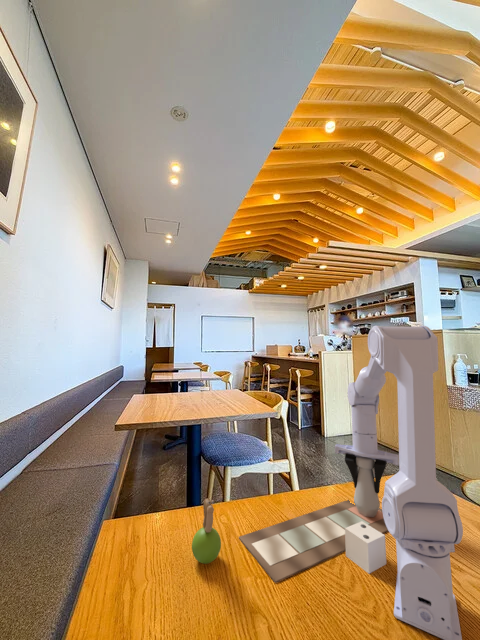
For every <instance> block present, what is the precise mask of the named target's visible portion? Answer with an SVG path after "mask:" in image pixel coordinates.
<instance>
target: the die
mask: <svg viewBox="0 0 480 640" xmlns="http://www.w3.org/2000/svg"><path fill="white" fill-rule="evenodd" d="M345 544H346V551H345V557H346V558H348V559H349V560H350V561H352V562H353V563H354V564H356V565H357V566H358V567H359V568H360V569H362V570H363V571H364V572H366V573H367V574H371V573H373V572H375V571H377V570H378V569H380V568H382V567H384V566H386V565H387V549H386V535H385V533H383V534H382V533H381V532H379V531H377V530H376V529H374V528H372V527H371V526H369V525H367V524H366V523H364V522H363V521H361V522H359V523H356V524H354V525H351V526H349V527H346V528H345Z"/></svg>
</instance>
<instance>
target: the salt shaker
mask: <svg viewBox="0 0 480 640" xmlns="http://www.w3.org/2000/svg"><path fill="white" fill-rule="evenodd" d="M374 462H375V460H373V459H372V458H369V457H362V456H357V457H356V465H357V466H358V476H357V486H356V488H355V490H354V496H353V498H354V503H355V505H356V507H357V510H358V512H359V513H360V514H362V515H363V516H365V517H374V516H375V515H376V514H377V512H378V510H379V508H380V507H381V503H380V499H379V494H378V493H376V492H375V474H374V472H373V470H374Z"/></svg>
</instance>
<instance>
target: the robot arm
mask: <svg viewBox="0 0 480 640" xmlns="http://www.w3.org/2000/svg"><path fill="white" fill-rule="evenodd" d="M367 347H368V348H367V349H368V351H369V354H370V358H369V361H368V365H367V366H365V367H363V368H361V369H360V371H359V374H358V376H357V378H356V380H355V381H354V382H349V383H348V385H347V399H348V403H349V405H350V407H351V409H350V410H351V411H350V412H351V429H352V430H351V431H352V444H351V445H350V444H341V443H336V444H335V445H334V454H336V455H340V454H341V455H344V462H345V464H346V466H347V467H348V470H349V473H350V475H351V478H352V482H353V487H354V488H355V489H356V486H357V476H358V469H359V467H358V466H357V465H356V457H357V456H362V457H369V458H372V459H373V460H374V468H373V470H374V479H375V492H376V493H378V495H379V494H380V485H381V480H382V477H383V474H384V472H385V470H386V468H387V464H393V465H394V466H399V468H398V469H399V470H398V471H397V473H395V474H394V475H393V476H391V477H390V478H388V479H387V480H386V481H385V482H384V491H383V497H382V500H381V509H382V512H383V517H384V521H385V524H386V527H387V529H388V531H387V532H389V534H390V535H391V536H392V537H393V539H395V547H396V550H395V551H396V564H397V565H396V566H397V574H396V583H395V585H396V586H395V593H394V594H395V595H394V606H393V607H394V608H393V616H394V617H395V619H398V620H400V621H402V622H404V623H406V624H409V625H411V626H413V627H415V628H417V629H420V630H421V631H424V632H427V633H428V634H431V635H433V636H434V637H437V638H440V639H441V640H463V637H462V632H461V626H460V619H459V612H458V606H457V601H456V600H457V599H456V596H455V594H454V592H453V591H454V590H453V580H452V569H451V567H452V565H451V553H455V552H456V550H455V545H458V544H460V543H461V541H462V540H463V535H464V526H463V522H462V519H461V516H460V513H459V508H458V500H457V498H456V497H455V495H454V494H453V493H452V492H451V491H450V490H449V489H448V487H446V486H445V485H444V484H443V483H441V482H440V481H438V480H437V465H436V463H437V462H436V432H435V429H436V428H435V403H434V402H435V399H434V396H435V395H434V394H435V393H434V374H435V373H436V372H438V371H439V344H438V336H437V335H436V334H435V333H434V332H433V331H432V329H431V328H429V327H428V326H426V325H419V326H385V325H384V326H380V325H374V326H372V327H371V328H370V330H369V331H368V335H367ZM387 372H388V373H391V374H393V375H394V377H395V378H396V381H397V382H396V383H397V384H396V385H397V418H398V419H397V422H398V427H397V430H398V454H397V453H392V452H388V451H385V450H381V449H378V435H377V434H378V429H377V415H378V414H379V413H378V412H379V405H380V395H379V393H381V391H382V389H383V387H384V386H385V384H386V383H387V378H386V375H385V374H387Z"/></svg>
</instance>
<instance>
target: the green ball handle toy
mask: <svg viewBox="0 0 480 640" xmlns="http://www.w3.org/2000/svg"><path fill="white" fill-rule="evenodd" d="M214 503H215V500H213V499H212V500H211V499H210V498H205V499H204V500H203V507H202V508H203V522H202V527H201V528H200V529H198V530H197V532H196V533H195V534H194V536H193V538H192V542H191V551H192V555H193V557H194V558H195V560H196V561H197V562H199V563H200V564H202V565H203V564H205V565H208V564H210V563H212V562H214V561H215V560H216V559H217V557H219V554H220V552H221V548H222V540H221V536H220V533H219V532H218V530H217V529H216V528H214V527H213V523H214V512H215V510H214Z"/></svg>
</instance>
